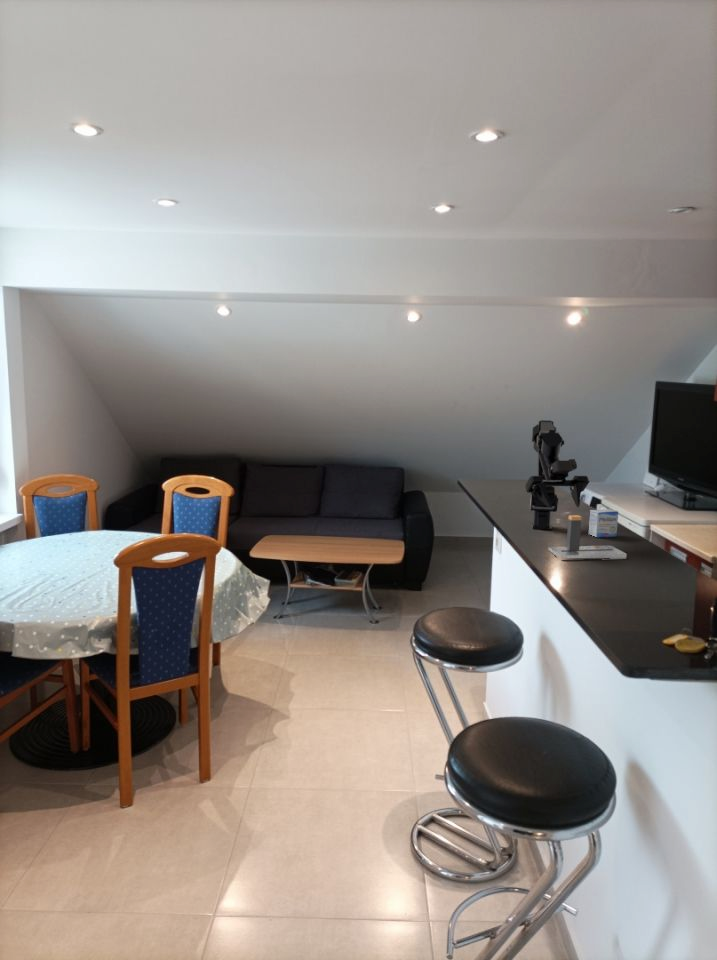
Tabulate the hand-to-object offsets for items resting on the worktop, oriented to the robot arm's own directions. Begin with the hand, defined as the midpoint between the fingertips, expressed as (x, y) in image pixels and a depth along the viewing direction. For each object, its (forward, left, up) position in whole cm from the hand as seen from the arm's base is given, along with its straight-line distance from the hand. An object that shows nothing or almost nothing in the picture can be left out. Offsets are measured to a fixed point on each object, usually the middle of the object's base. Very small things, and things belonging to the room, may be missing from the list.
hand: (564, 506), depth 197 cm
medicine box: (-19, +15, -13) cm, 28 cm away
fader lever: (+7, +2, -11) cm, 14 cm away
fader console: (+6, +7, -13) cm, 16 cm away
